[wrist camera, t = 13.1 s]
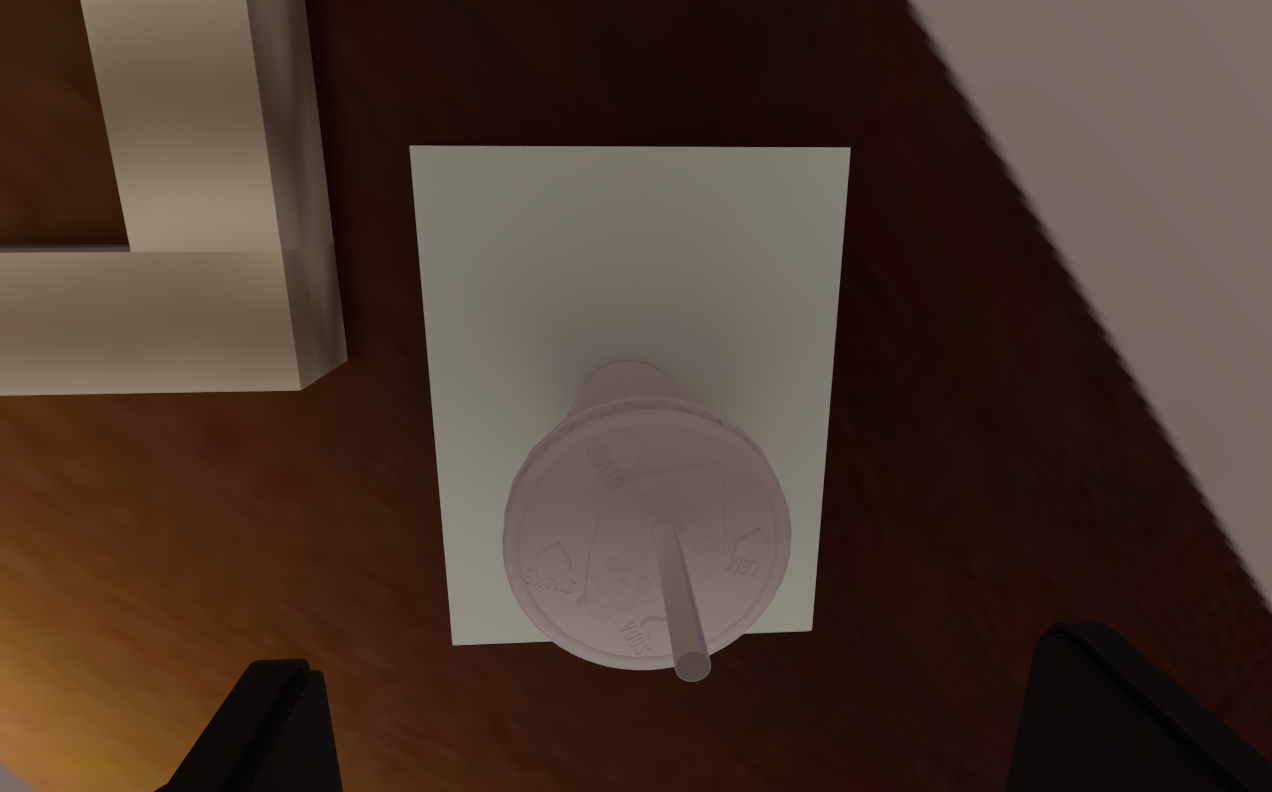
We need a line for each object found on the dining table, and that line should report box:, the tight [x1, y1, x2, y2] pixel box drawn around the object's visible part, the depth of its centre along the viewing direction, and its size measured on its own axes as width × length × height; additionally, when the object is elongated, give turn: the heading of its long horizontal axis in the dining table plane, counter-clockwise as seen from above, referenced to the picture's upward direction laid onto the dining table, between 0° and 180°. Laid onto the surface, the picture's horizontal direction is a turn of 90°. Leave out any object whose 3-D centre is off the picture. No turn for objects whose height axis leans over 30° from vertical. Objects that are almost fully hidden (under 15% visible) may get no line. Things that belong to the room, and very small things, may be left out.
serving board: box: [410, 146, 851, 645], centre depth 24 cm, size 18×14×1 cm
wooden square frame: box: [0, 0, 348, 396], centre depth 19 cm, size 16×16×4 cm
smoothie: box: [502, 361, 791, 682], centre depth 17 cm, size 6×6×14 cm
